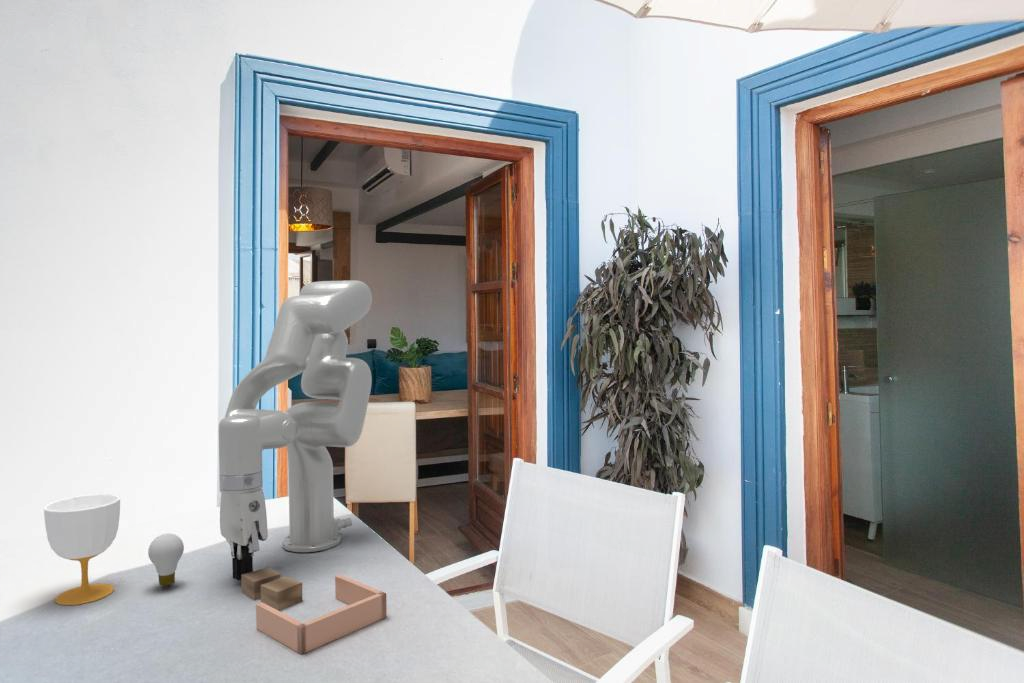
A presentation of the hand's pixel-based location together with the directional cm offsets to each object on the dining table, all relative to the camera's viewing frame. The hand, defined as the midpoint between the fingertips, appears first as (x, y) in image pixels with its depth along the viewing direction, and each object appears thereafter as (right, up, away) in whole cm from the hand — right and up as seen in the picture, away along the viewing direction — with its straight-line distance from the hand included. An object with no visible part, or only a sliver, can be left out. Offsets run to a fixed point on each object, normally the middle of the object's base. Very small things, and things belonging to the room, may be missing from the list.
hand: (242, 577), depth 124 cm
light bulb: (-14, -2, -1) cm, 14 cm away
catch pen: (+20, -1, -17) cm, 26 cm away
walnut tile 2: (+10, -2, -9) cm, 14 cm away
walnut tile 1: (+5, -1, -4) cm, 7 cm away
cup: (-27, -2, -5) cm, 27 cm away
